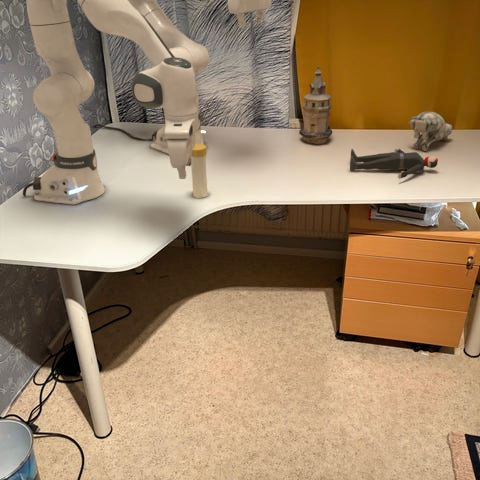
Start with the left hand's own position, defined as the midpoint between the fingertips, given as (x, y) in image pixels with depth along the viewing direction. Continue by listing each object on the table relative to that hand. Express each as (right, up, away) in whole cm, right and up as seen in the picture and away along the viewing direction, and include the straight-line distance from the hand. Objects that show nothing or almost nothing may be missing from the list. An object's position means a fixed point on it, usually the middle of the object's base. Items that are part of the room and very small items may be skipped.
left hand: (185, 171), depth 148 cm
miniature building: (+46, +22, +72) cm, 88 cm away
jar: (+2, -4, +27) cm, 27 cm away
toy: (+70, +6, +43) cm, 82 cm away
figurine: (+90, +19, +65) cm, 113 cm away
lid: (+2, +10, +19) cm, 21 cm away
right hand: (+19, +51, +26) cm, 60 cm away
